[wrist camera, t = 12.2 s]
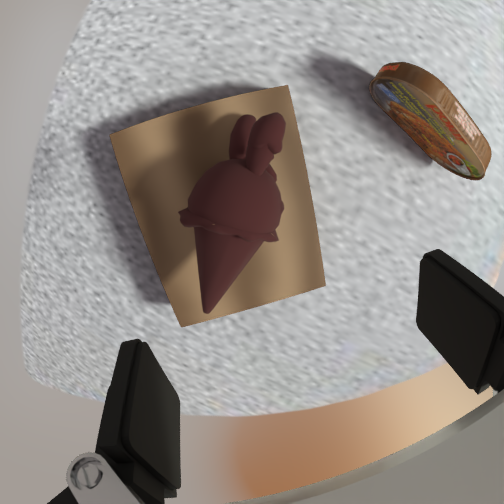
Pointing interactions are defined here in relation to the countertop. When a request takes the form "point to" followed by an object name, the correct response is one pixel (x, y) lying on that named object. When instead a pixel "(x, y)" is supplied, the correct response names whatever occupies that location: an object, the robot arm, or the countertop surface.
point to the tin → (432, 118)
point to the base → (182, 183)
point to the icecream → (236, 205)
